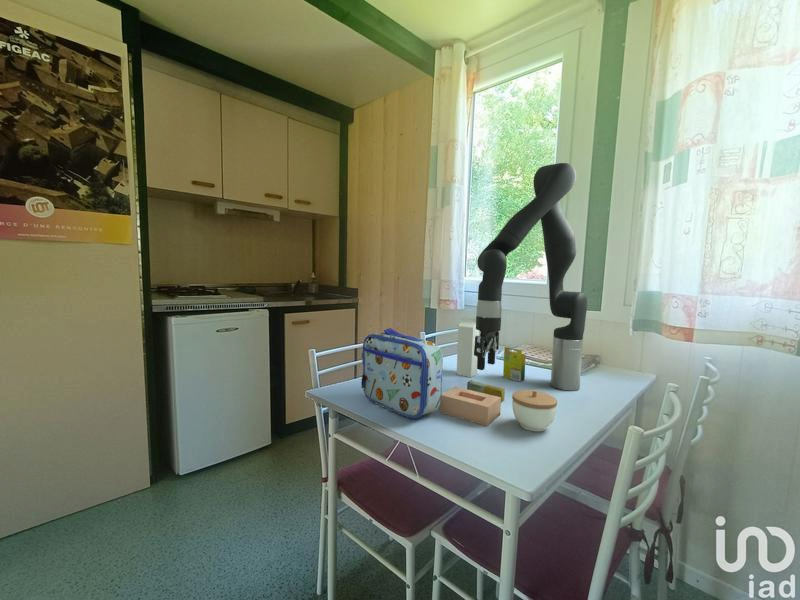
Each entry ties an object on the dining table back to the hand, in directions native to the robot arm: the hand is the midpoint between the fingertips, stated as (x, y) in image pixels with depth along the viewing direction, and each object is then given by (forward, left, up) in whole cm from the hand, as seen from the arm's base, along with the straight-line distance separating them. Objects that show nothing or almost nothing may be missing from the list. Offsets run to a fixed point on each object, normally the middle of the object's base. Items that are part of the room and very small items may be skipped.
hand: (486, 366), depth 109 cm
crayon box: (-26, +1, -10) cm, 27 cm away
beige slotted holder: (+15, +2, -10) cm, 18 cm away
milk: (-20, -15, -10) cm, 27 cm away
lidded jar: (+12, +18, -10) cm, 24 cm away
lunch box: (+23, -17, -10) cm, 31 cm away
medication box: (-1, 0, -10) cm, 10 cm away
